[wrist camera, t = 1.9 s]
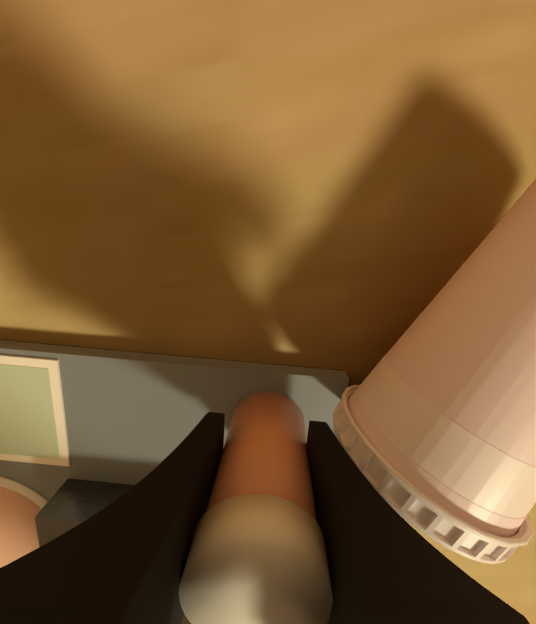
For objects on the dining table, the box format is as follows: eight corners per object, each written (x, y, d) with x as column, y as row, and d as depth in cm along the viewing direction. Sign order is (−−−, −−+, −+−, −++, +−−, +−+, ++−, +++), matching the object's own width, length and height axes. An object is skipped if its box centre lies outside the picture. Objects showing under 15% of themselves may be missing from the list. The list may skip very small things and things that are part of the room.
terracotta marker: (303, 460, 13) (322, 661, 7) (226, 453, 13) (178, 644, 7) (312, 391, 12) (343, 550, 6) (229, 384, 13) (178, 533, 6)
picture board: (306, 609, 17) (308, 629, 16) (-43, 572, 17) (-61, 591, 16) (345, 370, 13) (349, 381, 12) (-108, 330, 13) (-135, 337, 12)
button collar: (209, 597, 16) (199, 647, 14) (80, 583, 16) (53, 632, 14) (212, 492, 14) (202, 533, 12) (68, 478, 14) (34, 517, 12)
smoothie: (556, 237, 12) (373, 485, 16) (442, 156, 10) (264, 460, 14) (892, 279, 6) (469, 662, 10) (771, 99, 4) (301, 662, 8)
